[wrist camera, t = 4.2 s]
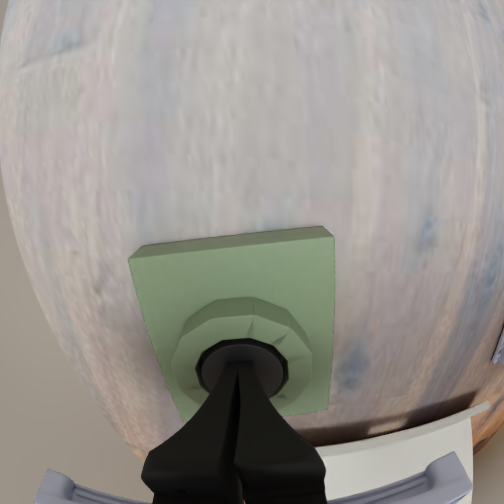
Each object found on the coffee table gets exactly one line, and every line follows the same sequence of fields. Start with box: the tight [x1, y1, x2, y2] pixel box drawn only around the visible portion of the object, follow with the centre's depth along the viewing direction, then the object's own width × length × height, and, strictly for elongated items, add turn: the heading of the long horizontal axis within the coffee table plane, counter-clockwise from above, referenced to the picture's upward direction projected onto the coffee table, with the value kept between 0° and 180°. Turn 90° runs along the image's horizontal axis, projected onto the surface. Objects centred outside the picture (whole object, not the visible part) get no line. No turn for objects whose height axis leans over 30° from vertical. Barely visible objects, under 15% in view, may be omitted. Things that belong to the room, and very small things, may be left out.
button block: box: [128, 226, 335, 421], centre depth 15 cm, size 12×10×4 cm
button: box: [202, 338, 283, 396], centre depth 14 cm, size 4×4×2 cm
